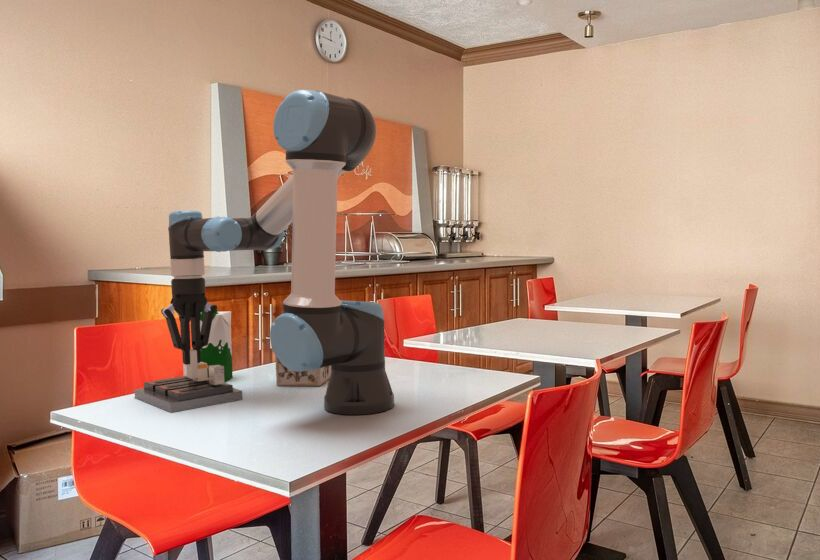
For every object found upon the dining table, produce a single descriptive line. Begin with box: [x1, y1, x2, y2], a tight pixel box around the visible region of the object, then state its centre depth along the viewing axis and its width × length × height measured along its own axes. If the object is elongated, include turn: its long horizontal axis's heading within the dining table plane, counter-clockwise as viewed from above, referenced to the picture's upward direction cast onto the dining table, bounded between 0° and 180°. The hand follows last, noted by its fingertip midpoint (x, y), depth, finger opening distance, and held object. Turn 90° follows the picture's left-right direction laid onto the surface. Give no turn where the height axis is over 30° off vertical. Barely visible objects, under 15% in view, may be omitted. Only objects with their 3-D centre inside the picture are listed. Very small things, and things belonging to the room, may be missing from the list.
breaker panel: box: [133, 363, 243, 413], centre depth 163 cm, size 21×17×8 cm
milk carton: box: [200, 304, 233, 383], centre depth 184 cm, size 9×9×20 cm
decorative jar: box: [275, 356, 331, 387], centre depth 179 cm, size 12×12×18 cm
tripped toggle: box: [193, 362, 208, 381], centre depth 165 cm, size 3×2×4 cm
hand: (192, 377), depth 164 cm, fingers closed
